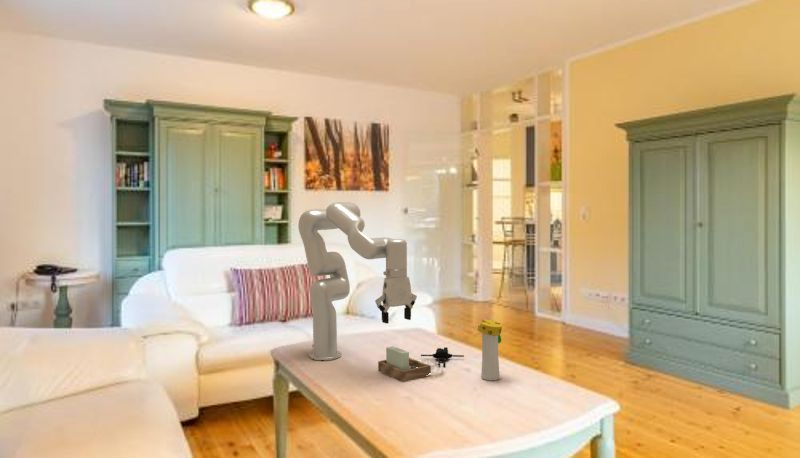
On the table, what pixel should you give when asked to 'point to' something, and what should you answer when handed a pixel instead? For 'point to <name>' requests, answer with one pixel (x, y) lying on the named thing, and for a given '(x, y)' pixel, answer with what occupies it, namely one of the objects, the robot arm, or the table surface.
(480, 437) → the table surface
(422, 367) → the brown wooden shallow tray
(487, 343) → the toy
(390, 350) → the light green rectangular block
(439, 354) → the toy
